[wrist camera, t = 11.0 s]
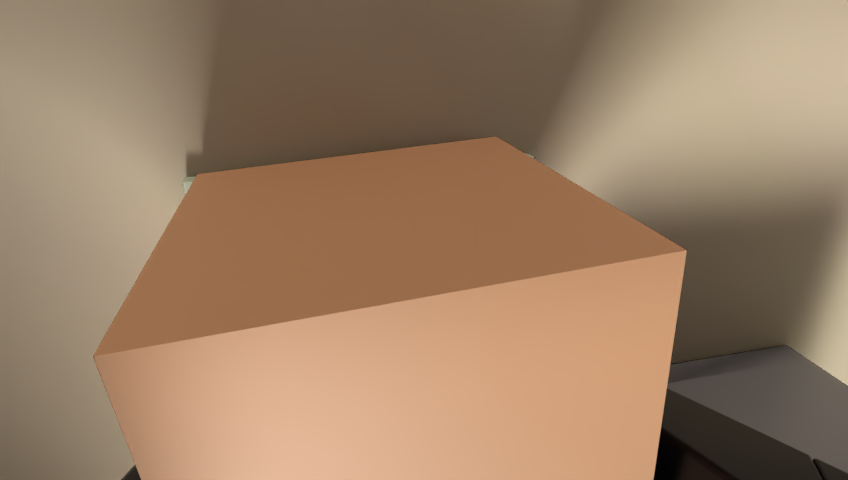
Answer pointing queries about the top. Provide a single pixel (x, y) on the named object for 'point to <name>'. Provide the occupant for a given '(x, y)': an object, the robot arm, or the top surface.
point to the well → (773, 398)
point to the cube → (396, 325)
